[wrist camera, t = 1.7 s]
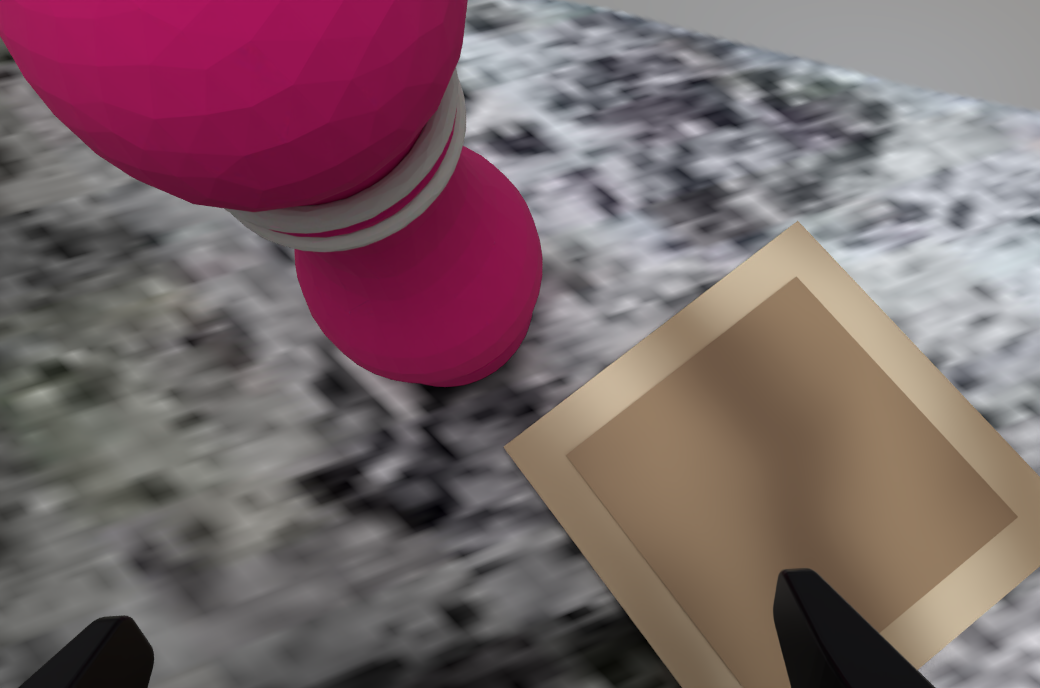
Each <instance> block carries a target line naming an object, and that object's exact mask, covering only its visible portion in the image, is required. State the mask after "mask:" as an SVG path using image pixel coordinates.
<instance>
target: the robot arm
mask: <svg viewBox="0 0 1040 688" xmlns="http://www.w3.org/2000/svg"><path fill="white" fill-rule="evenodd" d="M773 618H774V624H775V628H776V632H777V636H778V639H779V643H780V647H781V651H782V655H783V659H784V662H785V666H786V670H787V674H788V678H789V682H790V685H791V688H935V687H934V686H933V685H932V684H931V683H930V682H929V681H928V680H927V679H926V678H925V677H924V676H923V675H922V674H921V673H920V672H919V671H918V670H917V669H916V668H915V667H914V666H913V665H911V664H910V663H909V662H908V661H907V660H906V659H905V658H904V657H903V656H902V655H901V654H900V653H899V652H898V651H897V650H896V649H895V648H894V647H893V646H892V645H891V644H890V643H889V642H888V641H887V640H886V639H885V638H884V637H883V636H882V635H881V634H880V633H879V632H878V631H877V630H875V629H874V628H873V627H872V626H871V625H870V624H869V623H868V622H867V621H866V620H865V619H864V618H863V617H862V616H861V615H860V614H859V613H858V612H857V611H856V610H855V609H854V608H853V607H852V606H851V605H850V604H849V603H848V602H847V601H846V600H845V599H844V598H843V597H842V596H841V595H840V594H838V593H837V592H836V591H835V590H834V589H833V588H832V587H831V586H830V585H829V584H828V583H827V582H826V581H825V580H824V579H823V578H822V577H821V576H820V575H819V574H818V573H817V572H816V571H814V570H812V569H810V568H793V569H783V570H781V571H780V573H779V575H778V579H777V585H776V591H775V597H774V603H773ZM153 664H154V652H153V648H152V646H151V645H150V643H149V642H148V640H147V639H146V637H145V636H144V634H143V633H142V632H141V630H140V629H139V627H138V626H137V624H136V623H135V621H134V620H133V619H132V618H131V617H129V616H109V617H102V618H99V619H97V620H95V621H93V622H92V623H91V624H90V625H88V626H87V627H86V628H85V629H84V630H83V631H82V632H80V633H79V634H78V635H77V636H76V637H75V638H74V639H73V640H71V641H70V642H69V643H68V644H67V645H66V646H65V647H64V648H62V649H61V650H60V651H59V652H58V653H57V654H56V655H55V656H53V657H52V658H51V659H50V660H49V661H48V662H47V663H46V664H44V665H43V666H42V667H41V668H40V669H39V670H38V671H37V672H35V673H34V674H33V675H32V676H31V677H30V678H29V679H27V680H26V681H25V682H24V683H23V684H22V685H21V686H20V687H18V688H148V684H149V680H150V677H151V673H152V669H153Z"/></svg>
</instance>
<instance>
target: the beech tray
mask: <svg viewBox="0 0 1040 688" xmlns="http://www.w3.org/2000/svg"><path fill="white" fill-rule="evenodd" d="M504 448H505V450H506V451H507V452H508V454H509V455H510V457H511V458H512V459H513V461H514V462H515V463H516V465H517V466H518V467H519V469H520V470H521V471H522V473H523V474H524V475H525V477H526V478H527V479H528V481H529V482H530V483H531V485H532V486H533V487H534V489H535V490H536V492H537V493H538V494H539V496H540V497H541V498H542V500H543V501H544V502H545V504H546V505H547V506H548V508H549V509H550V510H551V512H552V513H553V514H554V516H555V517H556V518H557V520H558V521H559V523H560V524H561V525H562V527H563V528H564V529H565V531H566V532H567V533H568V535H569V536H570V537H571V539H572V540H573V541H574V543H575V544H576V545H577V547H578V548H579V549H580V551H581V552H582V553H583V555H584V556H585V558H586V559H587V560H588V562H589V563H590V564H591V566H592V567H593V568H594V570H595V571H596V572H597V574H598V575H599V576H600V578H601V579H602V580H603V582H604V583H605V584H606V586H607V587H608V589H609V590H610V591H611V593H612V594H613V595H614V597H615V598H616V599H617V601H618V602H619V603H620V605H621V606H622V607H623V609H624V610H625V611H626V613H627V614H628V615H629V617H630V618H631V619H632V621H633V622H634V624H635V625H636V626H637V628H638V629H639V630H640V632H641V633H642V634H643V636H644V637H645V638H646V640H647V641H648V642H649V644H650V645H651V646H652V648H653V649H654V650H655V652H656V653H657V655H658V656H659V657H660V659H661V660H662V661H663V663H664V664H665V665H666V667H667V668H668V669H669V671H670V672H671V673H672V675H673V676H674V677H675V679H676V680H677V681H678V683H679V684H680V685H681V687H682V688H791V685H790V682H789V678H788V674H787V670H786V666H785V662H784V659H783V655H782V651H781V647H780V643H779V639H778V636H777V632H776V628H775V624H774V618H773V603H774V597H775V591H776V585H777V579H778V575H779V573H780V571H781V570H783V569H793V568H810V569H812V570H814V571H816V572H817V573H818V574H819V575H820V576H821V577H822V578H823V579H824V580H825V581H826V582H827V583H828V584H829V585H830V586H831V587H832V588H833V589H834V590H835V591H836V592H837V593H838V594H840V595H841V596H842V597H843V598H844V599H845V600H846V601H847V602H848V603H849V604H850V605H851V606H852V607H853V608H854V609H855V610H856V611H857V612H858V613H859V614H860V615H861V616H862V617H863V618H864V619H865V620H866V621H867V622H868V623H869V624H870V625H871V626H872V627H873V628H874V629H875V630H877V631H878V632H879V633H880V634H881V635H882V636H883V637H884V638H885V639H886V640H887V641H888V642H889V643H890V644H891V645H892V646H893V647H894V648H895V649H896V650H897V651H898V652H899V653H900V654H901V655H902V656H903V657H904V658H905V659H906V660H907V661H908V662H909V663H910V664H911V665H913V666H914V667H915V668H916V669H917V670H918V669H919V668H920V667H921V666H923V665H924V664H925V663H926V662H927V661H929V660H930V659H931V658H932V657H933V656H934V655H936V654H937V653H938V652H939V651H940V650H942V649H943V648H944V647H945V646H946V645H947V644H949V643H950V642H951V641H952V640H953V639H955V638H956V637H957V636H958V635H959V634H960V633H962V632H963V631H964V630H965V629H966V628H968V627H969V626H970V625H971V624H972V623H973V622H975V621H976V620H977V619H978V618H979V617H981V616H982V615H983V614H984V613H985V612H986V611H988V610H989V609H990V608H991V607H992V606H994V605H995V604H996V603H997V602H998V601H999V600H1001V599H1002V598H1003V597H1004V596H1005V595H1006V594H1008V593H1009V592H1010V591H1011V590H1012V589H1014V588H1015V587H1016V586H1017V585H1018V584H1019V583H1021V582H1022V581H1023V580H1024V579H1025V578H1027V577H1028V576H1029V575H1030V574H1031V573H1032V572H1034V571H1035V570H1036V569H1037V568H1038V567H1040V477H1039V476H1038V475H1037V474H1036V473H1035V471H1034V470H1033V469H1032V468H1031V467H1030V466H1029V465H1028V464H1027V463H1026V462H1025V461H1024V460H1023V459H1022V458H1021V457H1020V456H1019V455H1018V453H1017V452H1016V451H1015V450H1014V449H1013V448H1012V447H1011V446H1010V445H1009V444H1008V443H1007V442H1006V441H1005V440H1004V439H1003V438H1002V437H1001V435H1000V434H999V433H998V432H997V431H996V430H995V429H994V428H993V427H992V426H991V425H990V424H989V423H988V422H987V421H986V420H985V419H984V417H983V416H982V415H981V414H980V413H979V412H978V411H977V410H976V409H975V408H974V407H973V406H972V405H971V404H970V403H969V402H968V401H967V399H966V398H965V397H964V396H963V395H962V394H961V393H960V392H959V391H958V390H957V389H956V388H955V387H954V386H953V385H952V384H951V383H950V381H949V380H948V379H947V378H946V377H945V376H944V375H943V374H942V373H941V372H940V371H939V370H938V369H937V368H936V367H935V366H934V365H933V363H932V362H931V361H930V360H929V359H928V358H927V357H926V356H925V355H924V354H923V353H922V352H921V351H920V350H919V349H918V348H917V347H916V345H915V344H914V343H913V342H912V341H911V340H910V339H909V338H908V337H907V336H906V335H905V334H904V333H903V332H902V331H901V330H900V329H899V327H898V326H897V325H896V324H895V323H894V322H893V321H892V320H891V319H890V318H889V317H888V316H887V315H886V314H885V313H884V312H883V311H882V309H881V308H880V307H879V306H878V305H877V304H876V303H875V302H874V301H873V300H872V299H871V298H870V297H869V296H868V295H867V294H866V293H865V291H864V290H863V289H862V288H861V287H860V286H859V285H858V284H857V283H856V282H855V281H854V280H853V279H852V278H851V277H850V276H849V275H848V273H847V272H846V271H845V270H844V269H843V268H842V267H841V266H840V265H839V264H838V263H837V262H836V261H835V260H834V259H833V258H832V257H831V255H830V254H829V253H828V252H827V251H826V250H825V249H824V248H823V247H822V246H821V245H820V244H819V243H818V242H817V241H816V240H815V239H814V237H813V236H812V235H811V234H810V233H809V232H808V231H807V230H806V229H805V228H804V227H803V226H802V225H801V224H800V223H799V222H798V221H797V222H796V223H794V224H793V225H792V226H790V227H789V228H788V229H787V230H785V231H784V232H783V233H781V234H780V235H779V236H777V237H776V238H775V239H774V240H772V241H771V242H770V243H768V244H767V245H766V246H764V247H763V248H762V249H761V250H759V251H758V252H757V253H755V254H754V255H753V256H751V257H750V258H749V259H747V260H746V261H745V262H744V263H742V264H741V265H740V266H738V267H737V268H736V269H734V270H733V271H732V272H731V273H729V274H728V275H727V276H725V277H724V278H723V279H721V280H720V281H719V282H718V283H716V284H715V285H714V286H712V287H711V288H710V289H708V290H707V291H706V292H705V293H703V294H702V295H701V296H699V297H698V298H697V299H695V300H694V301H693V302H692V303H690V304H689V305H688V306H686V307H685V308H684V309H682V310H681V311H680V312H678V313H677V314H676V315H675V316H673V317H672V318H671V319H669V320H668V321H667V322H665V323H664V324H663V325H662V326H660V327H659V328H658V329H656V330H655V331H654V332H652V333H651V334H650V335H649V336H647V337H646V338H645V339H643V340H642V341H641V342H639V343H638V344H637V345H636V346H634V347H633V348H632V349H630V350H629V351H628V352H626V353H625V354H624V355H623V356H621V357H620V358H619V359H617V360H616V361H615V362H613V363H612V364H611V365H609V366H608V367H607V368H606V369H604V370H603V371H602V372H600V373H599V374H598V375H596V376H595V377H594V378H593V379H591V380H590V381H589V382H587V383H586V384H585V385H583V386H582V387H581V388H580V389H578V390H577V391H576V392H574V393H573V394H572V395H570V396H569V397H568V398H567V399H565V400H564V401H563V402H561V403H560V404H559V405H557V406H556V407H555V408H554V409H552V410H551V411H550V412H548V413H547V414H546V415H544V416H543V417H542V418H540V419H539V420H538V421H537V422H535V423H534V424H533V425H531V426H530V427H529V428H527V429H526V430H525V431H524V432H522V433H521V434H520V435H518V436H517V437H516V438H514V439H513V440H512V441H511V442H509V443H508V444H507V445H505V446H504Z"/></svg>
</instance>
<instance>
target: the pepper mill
mask: <svg viewBox="0 0 1040 688" xmlns="http://www.w3.org/2000/svg"><path fill="white" fill-rule="evenodd" d="M467 1H468V0H0V36H1V38H2V40H3V41H4V43H5V45H6V47H7V48H8V50H9V52H10V53H11V55H12V57H13V59H14V60H15V62H16V64H17V65H18V67H19V69H20V71H21V72H22V74H23V76H24V77H25V79H26V80H27V81H28V83H29V84H30V85H31V86H32V88H33V89H34V90H35V91H36V93H37V94H38V95H39V96H40V98H41V99H42V100H43V101H44V103H45V104H46V105H47V106H48V108H49V109H50V110H51V111H52V113H53V114H54V115H55V116H56V117H57V118H58V119H59V120H60V121H61V122H63V123H64V124H65V125H66V126H67V127H68V128H69V129H70V130H71V131H72V132H73V133H74V134H76V135H77V136H78V137H79V138H80V139H81V140H82V141H83V142H84V143H85V144H86V145H87V146H88V147H90V148H91V149H92V150H93V151H94V152H95V153H96V154H97V155H99V156H100V157H102V158H103V159H105V160H107V161H108V162H110V163H111V164H113V165H114V166H116V167H117V168H119V169H120V170H122V171H123V172H125V173H126V174H128V175H129V176H131V177H133V178H135V179H137V180H139V181H141V182H143V183H146V184H148V185H150V186H153V187H155V188H157V189H160V190H162V191H164V192H167V193H169V194H171V195H174V196H176V197H178V198H181V199H183V200H185V201H188V202H190V203H192V204H197V205H204V206H212V207H219V208H224V209H225V210H227V211H228V212H230V213H231V214H232V215H233V216H234V217H235V218H236V219H238V220H239V221H240V222H241V223H242V224H243V225H244V226H246V227H247V228H249V229H250V230H252V231H253V232H255V233H256V234H258V235H259V236H261V237H262V238H264V239H267V240H269V241H272V242H274V243H277V244H279V245H282V246H285V247H289V248H294V249H295V266H296V272H297V278H298V281H299V283H300V286H301V289H302V292H303V295H304V297H305V300H306V302H307V305H308V307H309V310H310V312H311V315H312V317H313V318H314V320H315V321H316V322H317V324H318V325H319V327H320V328H321V330H322V331H323V333H324V334H325V335H326V336H327V337H328V338H329V339H330V340H331V341H332V342H333V344H334V345H335V346H336V347H337V348H338V349H339V350H340V351H341V352H342V353H343V354H345V355H346V356H347V357H348V358H350V359H351V360H352V361H354V362H355V363H356V364H357V365H359V366H361V367H363V368H364V369H366V370H368V371H370V372H372V373H374V374H376V375H379V376H382V377H385V378H388V379H391V380H396V381H402V382H408V383H421V384H425V385H430V386H438V387H452V386H461V385H466V384H469V383H472V382H476V381H478V380H480V379H483V378H485V377H487V376H488V375H490V374H492V373H493V372H495V371H497V370H498V369H499V368H500V367H501V366H503V365H504V364H505V363H506V362H507V361H508V360H509V359H510V358H511V356H512V355H513V354H514V353H515V352H516V351H517V349H518V348H519V346H520V344H521V343H522V341H523V339H524V338H525V336H526V333H527V331H528V328H529V325H530V321H531V318H532V312H533V309H534V306H535V304H536V301H537V298H538V295H539V291H540V285H541V280H542V251H541V245H540V239H539V236H538V233H537V230H536V227H535V223H534V220H533V218H532V215H531V213H530V211H529V208H528V206H527V204H526V202H525V200H524V199H523V197H522V196H521V194H520V193H519V191H518V190H517V188H516V187H515V186H514V185H513V184H512V183H511V182H510V181H509V179H508V178H507V177H506V176H505V175H504V174H503V173H502V172H500V171H499V170H498V169H497V168H496V167H495V166H494V165H493V164H491V163H490V162H489V161H487V160H486V159H485V158H484V157H482V156H481V155H479V154H477V153H476V152H474V151H472V150H470V149H468V148H466V147H464V146H463V142H464V137H465V132H466V108H465V100H464V95H463V91H462V87H461V84H460V81H459V79H458V76H457V71H456V65H457V63H458V60H459V58H460V54H461V49H462V44H463V36H464V27H465V18H466V9H467Z"/></svg>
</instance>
